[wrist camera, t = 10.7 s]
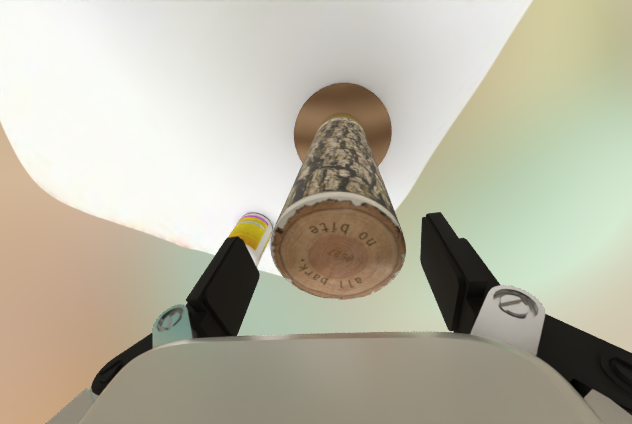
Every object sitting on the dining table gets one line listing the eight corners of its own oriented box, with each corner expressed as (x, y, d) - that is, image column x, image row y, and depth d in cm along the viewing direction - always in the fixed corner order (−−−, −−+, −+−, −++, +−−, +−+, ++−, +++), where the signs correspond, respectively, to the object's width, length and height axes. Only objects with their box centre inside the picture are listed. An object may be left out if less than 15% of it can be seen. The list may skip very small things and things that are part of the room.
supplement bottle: (235, 213, 43) (199, 260, 32) (268, 210, 42) (241, 258, 31) (246, 240, 47) (216, 290, 36) (276, 238, 46) (255, 290, 35)
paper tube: (349, 167, 35) (360, 313, 14) (309, 148, 34) (254, 273, 13) (373, 126, 31) (437, 234, 10) (329, 103, 30) (299, 170, 9)
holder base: (284, 96, 32) (236, 114, 17) (387, 71, 29) (429, 70, 15) (307, 186, 39) (285, 251, 24) (391, 173, 36) (422, 238, 22)
